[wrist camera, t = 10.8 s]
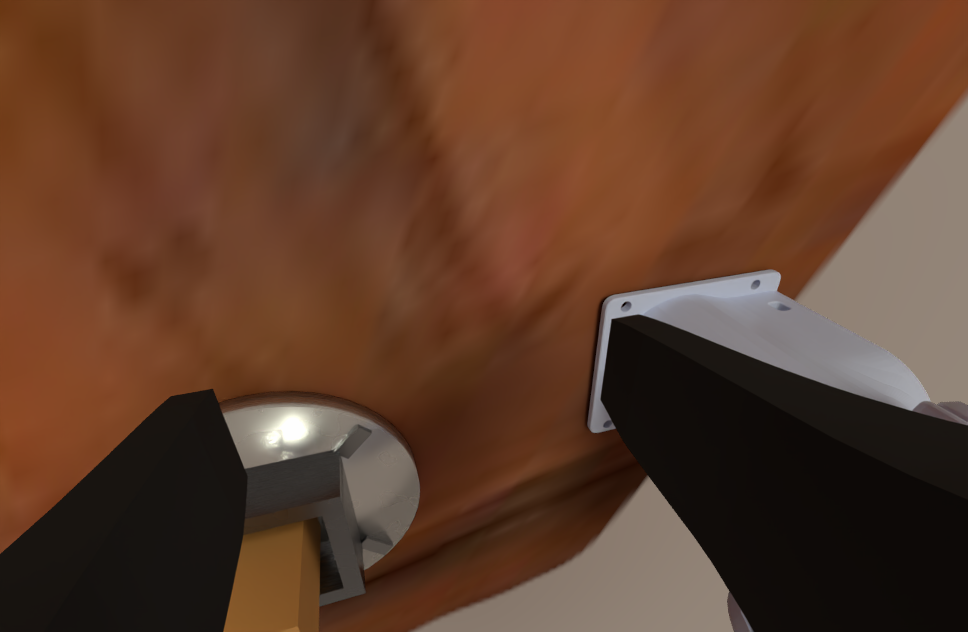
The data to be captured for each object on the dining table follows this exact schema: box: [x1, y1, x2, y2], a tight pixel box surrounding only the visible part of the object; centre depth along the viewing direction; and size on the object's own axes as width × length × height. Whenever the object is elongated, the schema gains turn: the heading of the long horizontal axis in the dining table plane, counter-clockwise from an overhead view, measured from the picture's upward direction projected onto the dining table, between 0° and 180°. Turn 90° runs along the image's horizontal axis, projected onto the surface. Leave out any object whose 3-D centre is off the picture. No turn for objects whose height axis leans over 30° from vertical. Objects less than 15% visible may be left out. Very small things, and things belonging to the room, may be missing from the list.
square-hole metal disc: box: [219, 391, 420, 606], centre depth 20 cm, size 12×12×4 cm
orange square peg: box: [223, 517, 321, 632], centre depth 18 cm, size 3×3×6 cm
